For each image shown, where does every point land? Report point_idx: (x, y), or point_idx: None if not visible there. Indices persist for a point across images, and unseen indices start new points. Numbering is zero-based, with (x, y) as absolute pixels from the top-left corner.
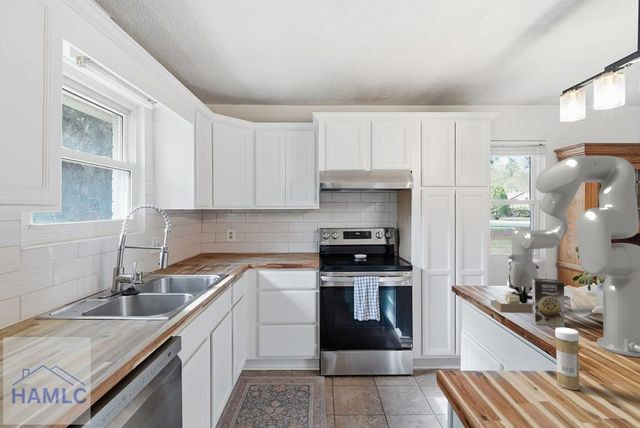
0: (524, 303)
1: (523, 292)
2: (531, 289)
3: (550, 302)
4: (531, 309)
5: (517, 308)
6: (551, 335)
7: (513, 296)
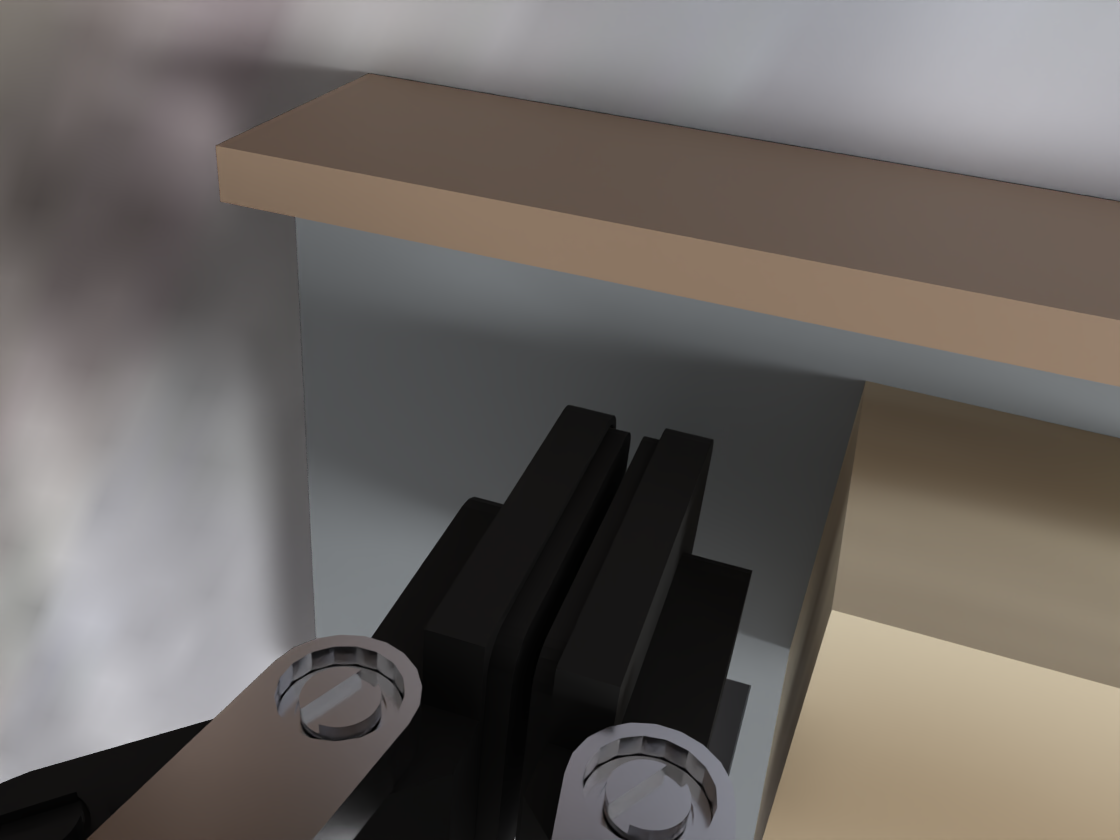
0: None
1: (463, 815)
2: (31, 784)
3: None
4: (567, 146)
5: (1068, 245)
6: None
7: (1082, 738)
